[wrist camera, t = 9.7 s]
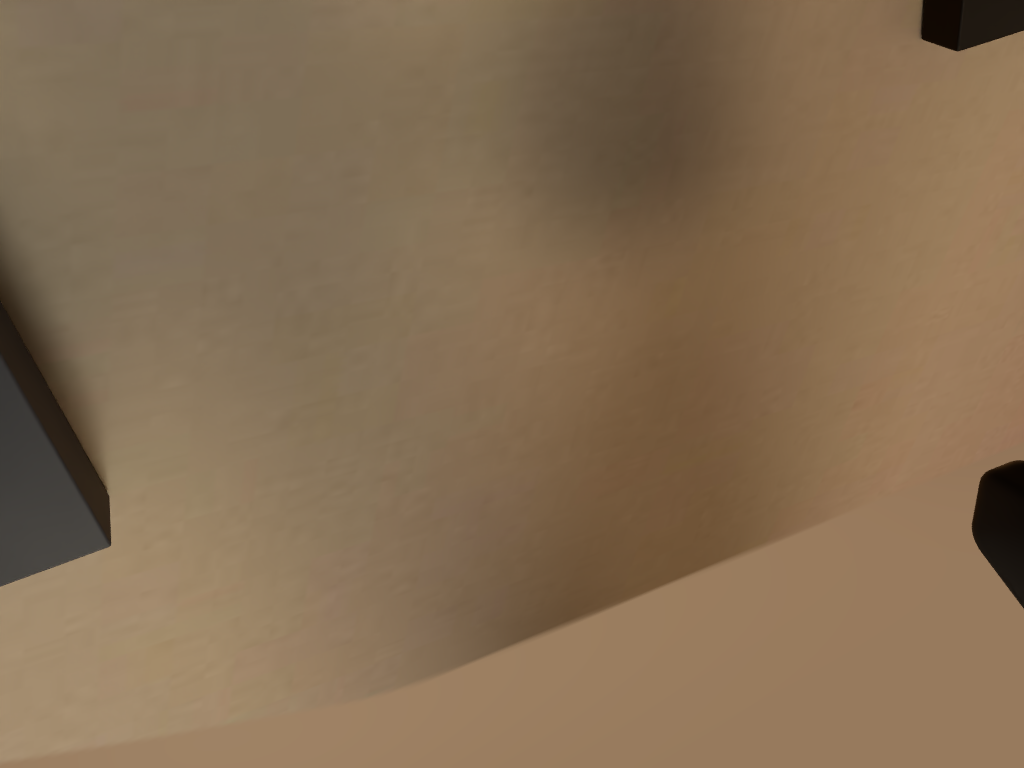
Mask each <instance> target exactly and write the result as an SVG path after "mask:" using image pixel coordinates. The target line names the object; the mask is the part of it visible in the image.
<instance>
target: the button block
mask: <svg viewBox="0 0 1024 768" xmlns="http://www.w3.org/2000/svg"><path fill="white" fill-rule="evenodd" d="M109 546H111V527H110V503H109V495H108V494H107V492H106V490H105V488H104V486H103V485H102V483H101V481H100V479H99V477H98V476H97V474H96V472H95V470H94V468H93V467H92V465H91V463H90V461H89V459H88V458H87V456H86V454H85V452H84V450H83V449H82V447H81V445H80V443H79V441H78V440H77V438H76V436H75V434H74V433H73V431H72V429H71V427H70V425H69V424H68V422H67V420H66V418H65V416H64V415H63V413H62V411H61V409H60V407H59V406H58V404H57V402H56V400H55V398H54V397H53V395H52V393H51V391H50V389H49V388H48V386H47V384H46V382H45V380H44V379H43V377H42V375H41V373H40V371H39V370H38V368H37V366H36V364H35V362H34V361H33V359H32V357H31V355H30V353H29V352H28V350H27V348H26V346H25V344H24V343H23V341H22V339H21V337H20V335H19V334H18V332H17V330H16V328H15V326H14V325H13V323H12V321H11V319H10V318H9V316H8V314H7V312H6V310H5V309H4V307H3V305H2V303H1V301H0V586H3V585H6V584H9V583H11V582H14V581H17V580H19V579H22V578H25V577H28V576H30V575H33V574H36V573H39V572H41V571H44V570H47V569H50V568H52V567H55V566H58V565H61V564H63V563H66V562H69V561H72V560H74V559H77V558H80V557H83V556H85V555H88V554H91V553H94V552H96V551H99V550H102V549H105V548H107V547H109Z"/></svg>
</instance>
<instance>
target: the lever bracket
mask: <svg viewBox="0 0 1024 768" xmlns="http://www.w3.org/2000/svg"><path fill="white" fill-rule="evenodd" d="M1020 31H1024V0H925V6H924V19H923V31H922V39H923V40H925V41H928V42H931V43H934V44H937V45H940V46H942V47H945V48H948V49H951V50H954V51H961V50H964V49H967V48H971V47H974V46H977V45H980V44H983V43H986V42H989V41H992V40H995V39H999V38H1002V37H1005V36H1008V35H1011V34H1014V33H1017V32H1020Z"/></svg>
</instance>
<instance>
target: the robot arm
mask: <svg viewBox="0 0 1024 768" xmlns="http://www.w3.org/2000/svg"><path fill="white" fill-rule="evenodd" d="M972 532H973V536H974V540H975V542H976V544H977V546H978V548H979V549H980V551H981V552H982V554H983V555H984V556H985V558H986V559H987V560H988V562H989V563H990V564H991V566H992V567H993V568H994V570H995V571H996V572H997V573H998V575H999V576H1000V577H1001V579H1002V580H1003V582H1004V583H1005V584H1006V586H1007V587H1008V588H1009V590H1010V591H1011V592H1012V594H1013V595H1014V596H1015V597H1016V598H1017V600H1018V601H1019V603H1020V604H1021V605H1022V607H1023V608H1024V461H1021V460H1017V461H1012V462H1009V463H1006V464H1004V465H1001V466H999V467H996V468H994V469H991V470H989V471H987V472H986V473H985V474H984V475H983V476H982V477H981V480H980V484H979V488H978V494H977V499H976V505H975V510H974V516H973V521H972Z"/></svg>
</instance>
